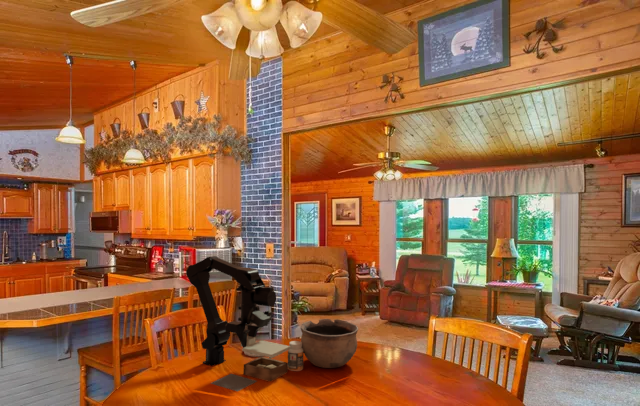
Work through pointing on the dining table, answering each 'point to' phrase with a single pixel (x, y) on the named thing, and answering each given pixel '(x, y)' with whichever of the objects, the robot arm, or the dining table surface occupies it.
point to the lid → (264, 347)
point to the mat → (234, 382)
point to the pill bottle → (295, 356)
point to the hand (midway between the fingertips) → (248, 346)
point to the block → (270, 367)
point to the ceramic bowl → (329, 342)
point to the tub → (264, 373)
